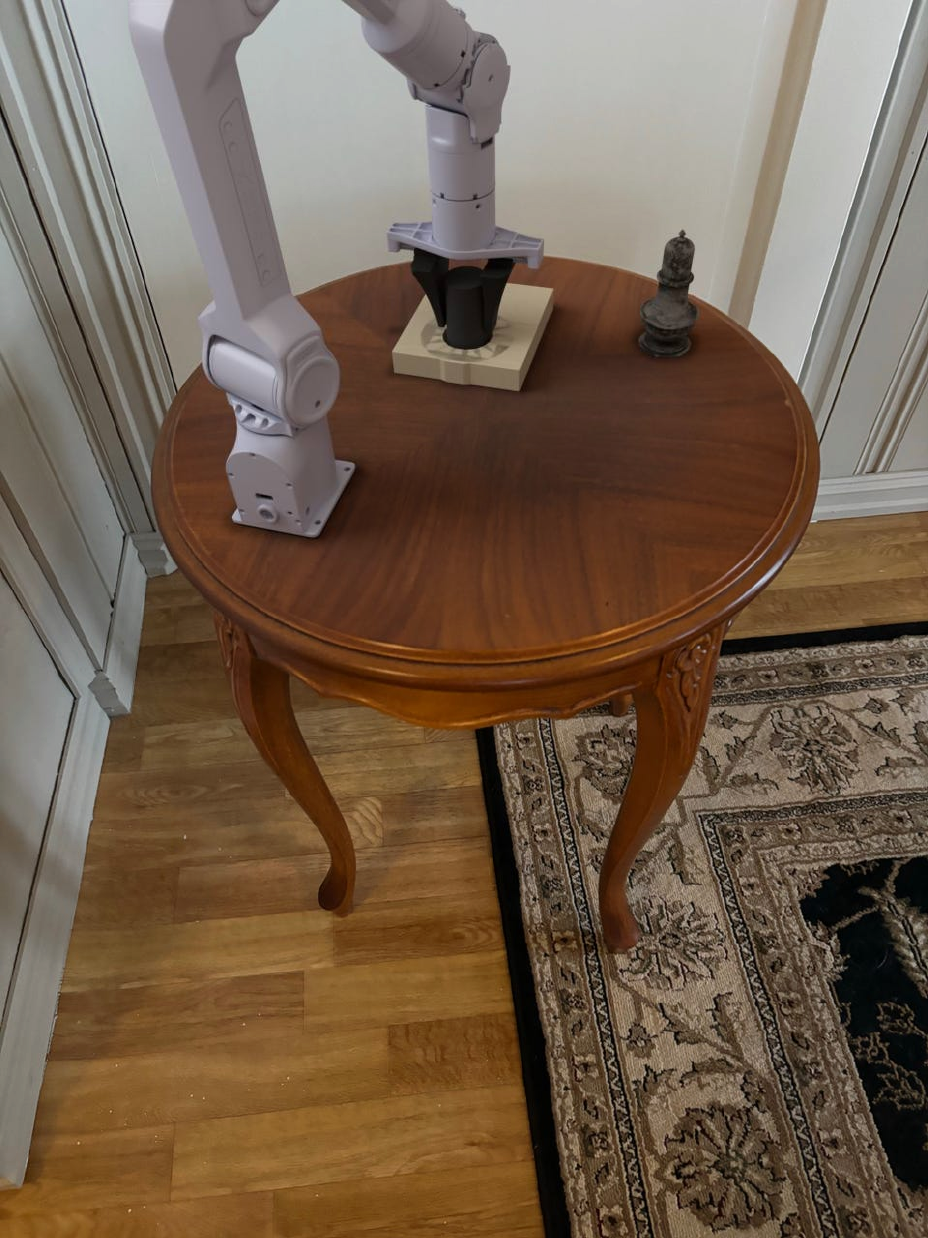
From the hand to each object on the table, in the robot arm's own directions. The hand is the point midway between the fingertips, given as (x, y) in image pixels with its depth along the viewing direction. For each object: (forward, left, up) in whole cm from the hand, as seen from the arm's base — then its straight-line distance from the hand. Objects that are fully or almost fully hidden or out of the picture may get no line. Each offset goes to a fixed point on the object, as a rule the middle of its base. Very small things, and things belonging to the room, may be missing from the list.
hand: (467, 324), depth 88 cm
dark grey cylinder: (0, 0, -2) cm, 2 cm away
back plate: (+3, 0, -4) cm, 5 cm away
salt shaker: (+7, -19, -4) cm, 21 cm away
